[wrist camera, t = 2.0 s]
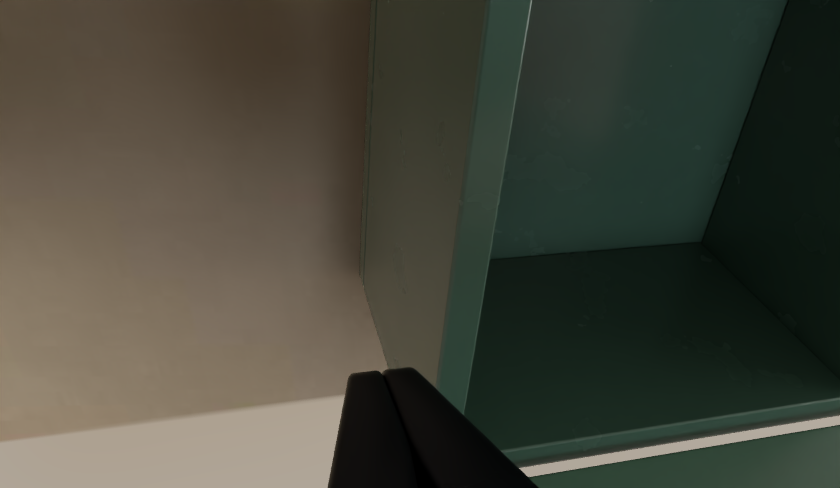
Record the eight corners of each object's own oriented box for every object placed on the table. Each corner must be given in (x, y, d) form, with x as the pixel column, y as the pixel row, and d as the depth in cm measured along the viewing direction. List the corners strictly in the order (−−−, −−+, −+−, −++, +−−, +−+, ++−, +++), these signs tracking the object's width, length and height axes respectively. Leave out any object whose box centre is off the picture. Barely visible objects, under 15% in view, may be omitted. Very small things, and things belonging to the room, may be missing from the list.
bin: (378, -184, 17) (505, -135, 10) (842, -148, 21) (1176, -92, 14) (358, 274, 25) (423, 484, 18) (701, 245, 28) (868, 411, 21)
